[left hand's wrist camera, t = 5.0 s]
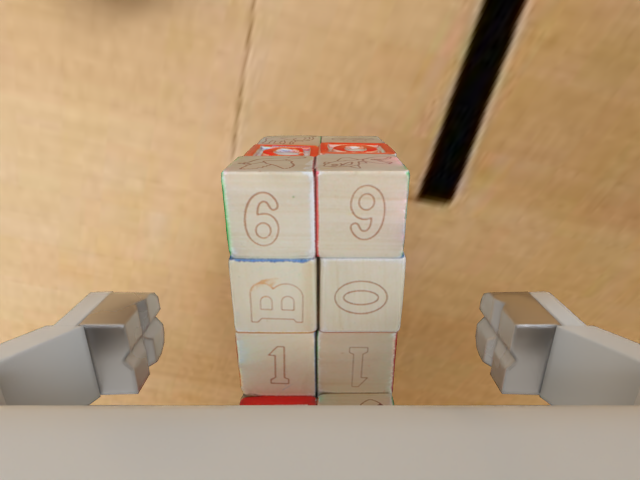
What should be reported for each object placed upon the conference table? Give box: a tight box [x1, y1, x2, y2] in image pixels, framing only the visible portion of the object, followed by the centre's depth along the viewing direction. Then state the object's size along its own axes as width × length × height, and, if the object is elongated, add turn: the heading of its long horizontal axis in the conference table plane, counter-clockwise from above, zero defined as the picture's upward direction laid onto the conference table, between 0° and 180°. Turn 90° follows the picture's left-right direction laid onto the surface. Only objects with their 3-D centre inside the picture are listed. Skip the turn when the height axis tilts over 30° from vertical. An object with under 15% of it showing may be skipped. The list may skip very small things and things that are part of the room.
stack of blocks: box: [221, 136, 410, 405], centre depth 20 cm, size 21×6×12 cm, turn 0°
